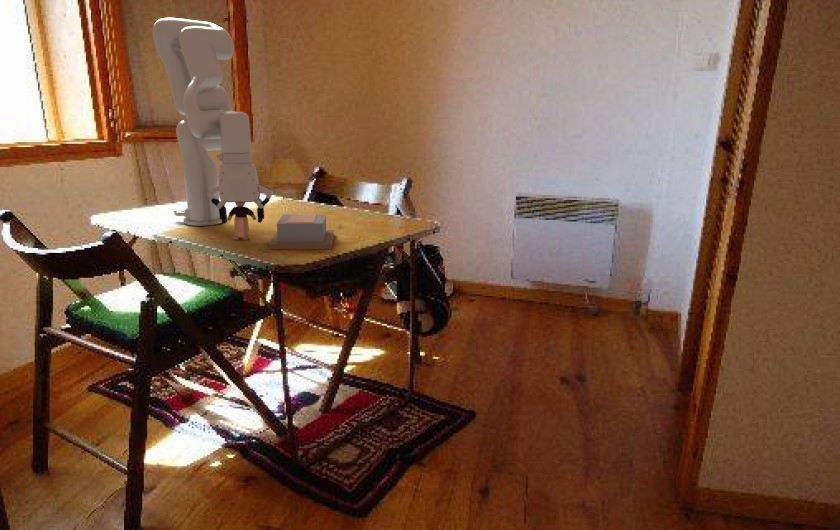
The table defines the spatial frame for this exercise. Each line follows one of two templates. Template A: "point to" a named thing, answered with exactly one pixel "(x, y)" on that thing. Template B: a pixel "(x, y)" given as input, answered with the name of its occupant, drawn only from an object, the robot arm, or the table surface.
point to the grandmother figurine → (241, 220)
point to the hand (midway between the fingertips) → (242, 221)
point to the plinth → (303, 244)
